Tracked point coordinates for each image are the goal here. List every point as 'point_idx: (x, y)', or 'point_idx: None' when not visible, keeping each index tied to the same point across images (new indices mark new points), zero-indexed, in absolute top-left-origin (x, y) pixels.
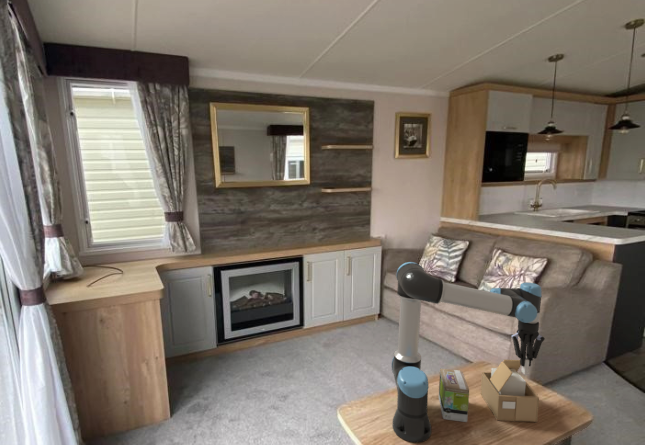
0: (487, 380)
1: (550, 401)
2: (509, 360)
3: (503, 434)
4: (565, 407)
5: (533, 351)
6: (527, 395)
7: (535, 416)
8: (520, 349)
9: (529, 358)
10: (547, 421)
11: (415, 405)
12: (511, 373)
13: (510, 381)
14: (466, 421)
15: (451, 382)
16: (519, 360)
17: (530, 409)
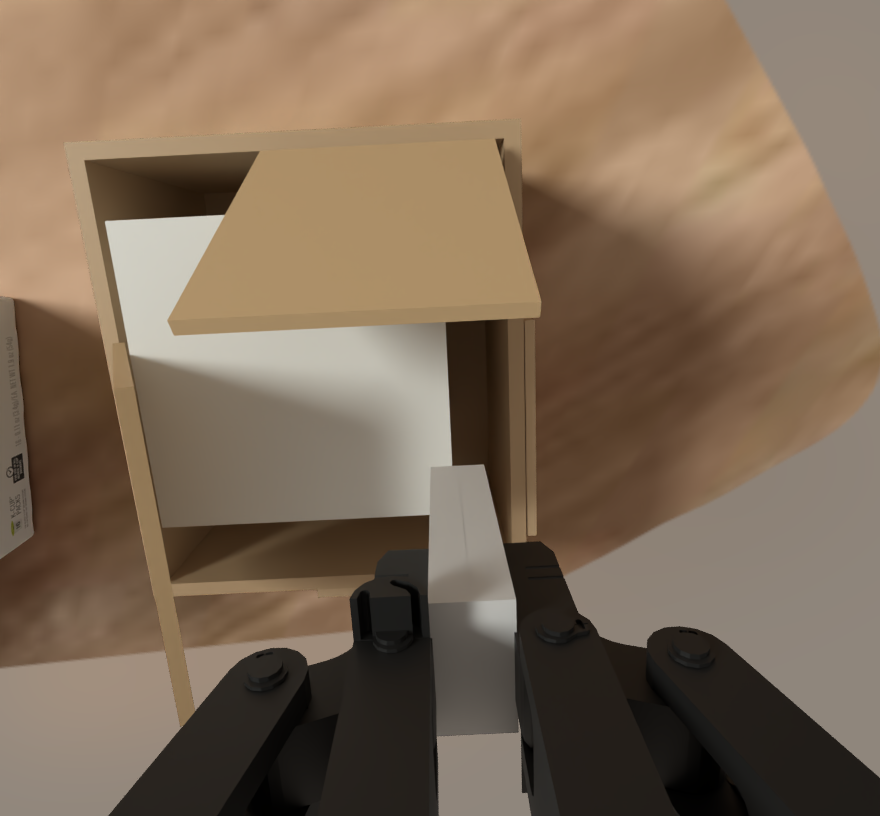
0: (104, 329)
1: (735, 226)
2: (274, 330)
3: (242, 607)
4: (803, 294)
5: (764, 764)
6: (498, 389)
7: None
8: (322, 809)
9: (531, 755)
10: (573, 465)
11: None
12: (182, 714)
13: (273, 518)
14: (30, 534)
15: None
16: (472, 315)
17: None
